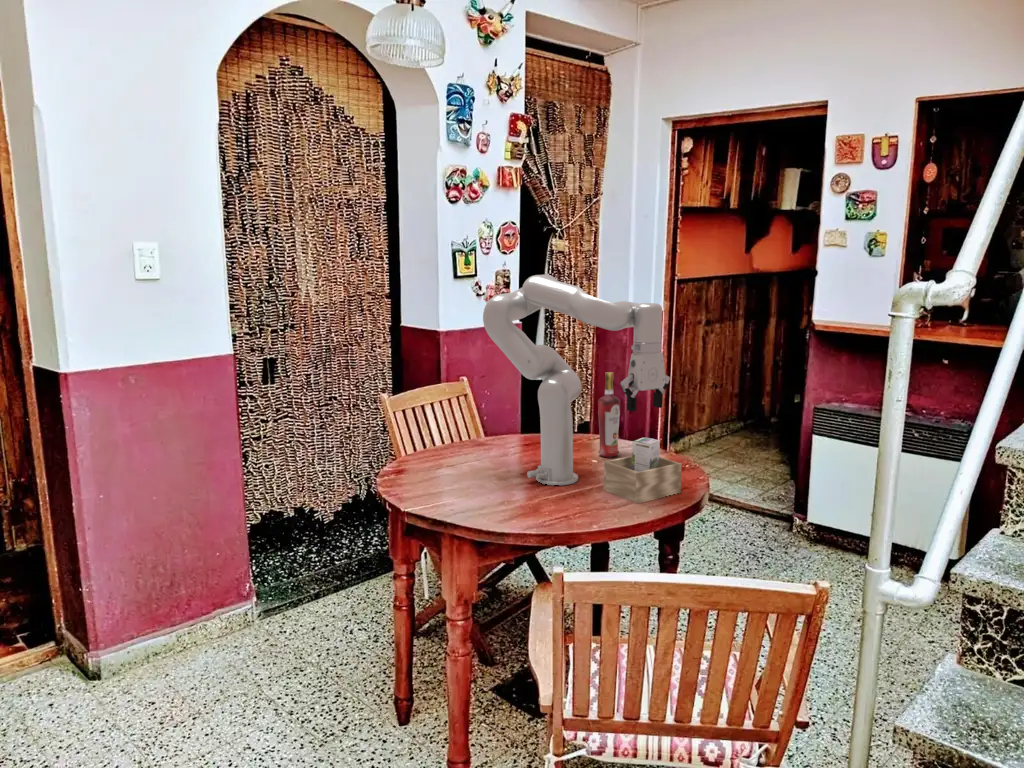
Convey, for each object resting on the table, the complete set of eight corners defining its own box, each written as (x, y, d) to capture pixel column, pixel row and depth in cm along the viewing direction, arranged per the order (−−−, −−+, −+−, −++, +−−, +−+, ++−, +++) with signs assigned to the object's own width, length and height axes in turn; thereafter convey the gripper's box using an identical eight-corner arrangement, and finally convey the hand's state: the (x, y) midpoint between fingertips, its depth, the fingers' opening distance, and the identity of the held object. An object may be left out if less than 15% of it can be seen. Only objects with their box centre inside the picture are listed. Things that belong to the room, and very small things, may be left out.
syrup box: (640, 485, 216) (641, 436, 214) (659, 488, 212) (660, 439, 210) (630, 490, 212) (631, 440, 209) (649, 494, 208) (650, 443, 206)
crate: (637, 503, 200) (638, 473, 199) (604, 490, 212) (604, 461, 210) (680, 492, 209) (681, 463, 207) (646, 480, 220) (646, 452, 219)
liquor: (610, 451, 253) (610, 370, 248) (624, 456, 247) (625, 373, 242) (593, 455, 249) (593, 372, 245) (607, 459, 243) (607, 375, 239)
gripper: (632, 352, 198) (630, 415, 201) (679, 347, 207) (676, 408, 210) (613, 348, 204) (612, 410, 207) (660, 344, 213) (658, 403, 216)
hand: (644, 408), depth 208 cm, fingers open, 9 cm apart
